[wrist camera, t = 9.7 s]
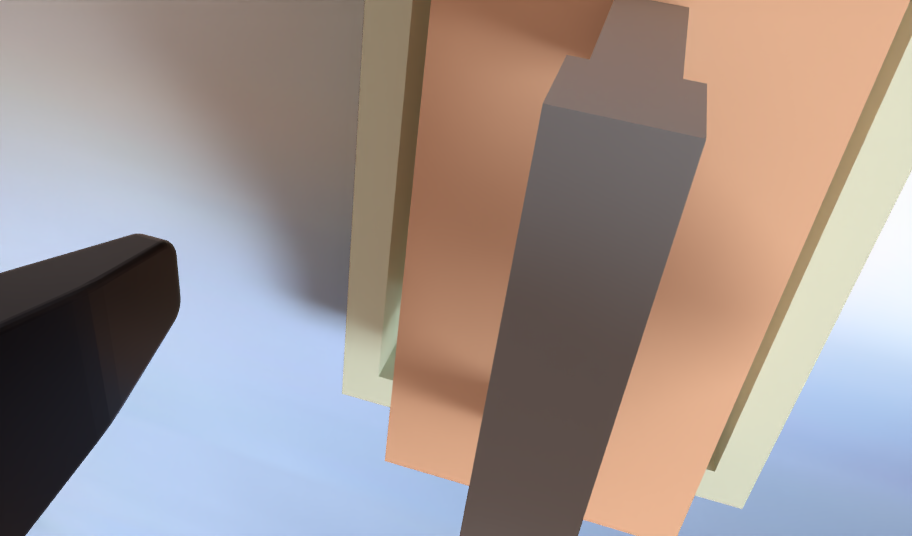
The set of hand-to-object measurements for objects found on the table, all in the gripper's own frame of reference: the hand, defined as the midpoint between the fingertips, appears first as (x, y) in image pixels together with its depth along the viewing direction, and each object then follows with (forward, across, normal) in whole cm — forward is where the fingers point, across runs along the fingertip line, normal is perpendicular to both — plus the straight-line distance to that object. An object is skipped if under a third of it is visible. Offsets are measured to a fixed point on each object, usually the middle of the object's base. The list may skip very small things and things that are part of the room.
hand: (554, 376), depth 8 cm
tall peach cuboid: (+8, 0, 0) cm, 8 cm away
